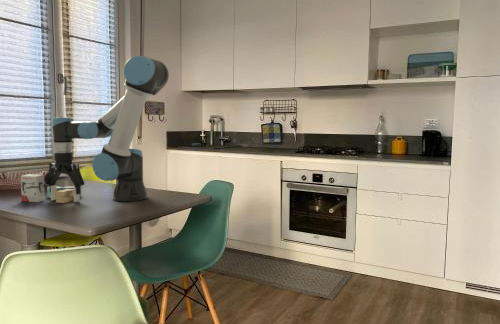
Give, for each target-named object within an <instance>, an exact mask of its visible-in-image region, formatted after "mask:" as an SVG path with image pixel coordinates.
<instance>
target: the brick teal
mask: <svg viewBox="0 0 500 324" xmlns="http://www.w3.org/2000/svg"><path fill="white" fill-rule="evenodd" d="M56 186H57V185H56ZM63 188H64V187H63V186H57V191H60V190H63ZM46 191H47V192H46V193H47V198H49V199H51V193H50V186H47V187H46Z"/></svg>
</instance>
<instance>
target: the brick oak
mask: <svg viewBox="0 0 500 324" xmlns="http://www.w3.org/2000/svg"><path fill="white" fill-rule="evenodd" d="M55 202H56V203H59V204H65V203H69V202H74V189H65V190H60V191H56V200H55Z"/></svg>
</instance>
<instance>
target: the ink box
mask: <svg viewBox="0 0 500 324" xmlns="http://www.w3.org/2000/svg"><path fill="white" fill-rule="evenodd" d="M20 185H21V186H20V189H21V191H20V192H21V202H27V203H39V202H40V203H41V202H44V201H45V200H46V199H45V196H46V195H45V175H44V174H36V173H28V174H24V175H23V174H22V175H20Z"/></svg>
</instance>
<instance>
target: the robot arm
mask: <svg viewBox="0 0 500 324" xmlns="http://www.w3.org/2000/svg"><path fill="white" fill-rule="evenodd" d="M169 73H170V72H169V69H168V67H167V66H166V64H165V63H164V62H162V61H160V60H156V59H153V58H150V57H148V56H146V55H135V56H132V57H131V58H129V59H128V60H127V61H126V62H125V64H124V65H123V75H124V78H125V80H124V83H123V84H124V86H125V88H126V90H125V93H124V96H123V97H121V98H120V99H119V101H117V102H116V103H114V105H113V106H112V107H111V108H110V109H109V110H107V112H105V113H104V114H103V115H102V116H101V117H100V118H99V119H97V121H89V120H88V121H87V120H86V121H85V120H84V121H73V120H72V118H71V116H55V117H53V119H52V133H53V134H52V135H53V152H54V153H53V156H54V157H53V160H54V161H55V162H51V163H49V168H48V171H47V175H46V178H45V179H46V180H45V181H44V184H46V185H48V187H50V193H51V198H50V200H51V201H56V191H57V184H56V183H57V181H58V180H59V178H60V176H61V174H66V175H67V176H68V177H69V179H70V180H71V182H72V184H73V186H75V187H74V200H73V202H74V203H76V202H80V201H81V200H80V199H81V197H80V193H81V194H82V186H84V185H85V181H84V179H83V176H82V174H81V171H80V165H79V163H73V160H74V152H72V151H73V140H74V139H75V140H76V139H77V140H92V139H106V138H109V137H110V138H109V141H108V143H106V144H104V145H103V146H102V150H101V152H100V153H98V154H97V155H95V156H94V157H93V159H92V163H91V167H92V171H93V173H94V175H95V176H96V177H97V178H98V179H100V180H101V181H104V182H113V181H115V180H116V185H115V188H114V191H113V195H112V196H113V197H112V200H114V201H117V202H137V201H142V200H145V199H147V198H148V192H147V189H146V186H145V183H144V167H143V165H144V157H143V152H142V150H141V149H138V148H130V147H131V143H132V142H133V140H134V136H135V133H136V130H137V127H138V125H139V121H140V120H141V115H142V113H143V110H144V107H145V104H146V102H147V100H148V99H149V98H150V97H151V96H154V97H155V96H156V95H157V94H158V93H159V92H161V90H162V89H163V88H165V86H166V85H167V83H168V81H169V78H170V74H169ZM80 187H81V189H80Z"/></svg>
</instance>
